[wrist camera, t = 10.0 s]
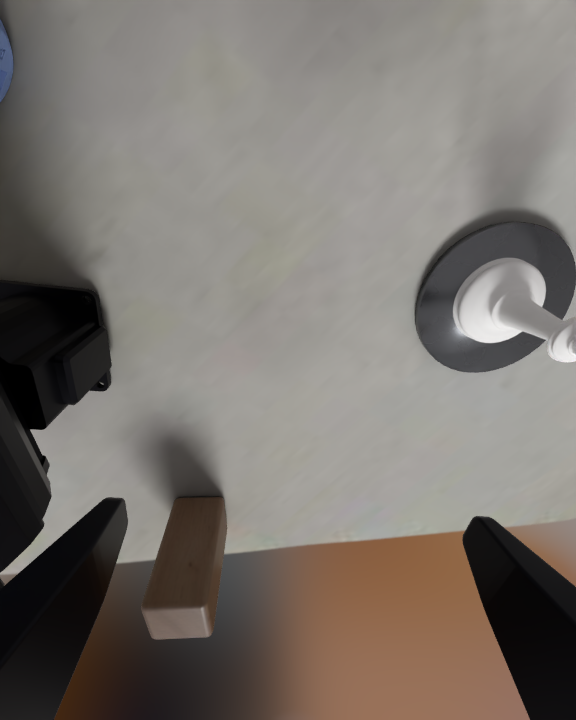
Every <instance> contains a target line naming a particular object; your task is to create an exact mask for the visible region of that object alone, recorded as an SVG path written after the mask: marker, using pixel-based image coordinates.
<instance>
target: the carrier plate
mask: <svg viewBox="0 0 576 720" xmlns="http://www.w3.org/2000/svg"><path fill="white" fill-rule="evenodd" d="M501 258H517V259H521V260H523V261H525V262H527V263H529V264H531V265H533V266H534V267H536V268H537V269H538V270H539V271H540V273H541V274H542V276H543V278H544V281H545V285H546V295H545V300H544V303H543V306H542V308H544V309H545V310H547V311H548V312H550V313H551V314H553V315H555V316H556V317H558V318H560V319H561V320H562V319H563V318H564V316H565V314H566V312H567V310H568V308H569V306H570V303H571V301H572V298H573V295H574V290H575V285H576V266H575V262H574V258H573V255H572V253H571V250H570V248H569V247H568V245H567V244H566V243H565V241H564V240H563V239H562V238H561V237H560V236H559V235H558V234H556V233H555V232H553V231H552V230H550V229H548V228H545V227H543V226H540V225H535V224H531V223H522V222H506V223H499V224H494V225H490V226H487V227H484V228H482V229H479V230H477V231H475V232H473V233H471V234H469V235H467V236H466V237H464V238H463V239H461V240H459V241H458V242H457V243H456V244H454V245H453V246H452V247H450V248H449V249H448V250H447V251H446V252H445V253H444V254H443V255H442V256H441V257H440V258H439V260H438V261H437V262H436V263H435V264H434V266H433V267H432V269H431V270H430V272H429V273H428V275H427V276H426V278H425V280H424V282H423V284H422V287H421V289H420V292H419V295H418V299H417V303H416V310H415V323H416V329H417V333H418V336H419V339H420V341H421V342H422V344H423V346H424V347H425V349H426V350H427V351H428V352H429V353H430V354H431V355H432V356H433V357H434V358H435V359H436V360H437V361H438V362H440V363H441V364H443V365H444V366H447V367H449V368H451V369H454V370H457V371H462V372H475V373H476V372H486V371H492V370H496V369H499V368H503V367H505V366H508V365H510V364H513V363H515V362H516V361H518V360H520V359H522V358H524V357H525V356H527V355H528V354H530V353H531V352H533V351H534V350H535V349H536V348H538V347H539V346H540V345H541V344H542V343H543V342H544V341H546V340H545V339H542V338H540V337H537V336H534V335H532V334H529V333H526V332H523V331H522V332H521V333H519V334H518V335H516V336H514V337H512V338H510V339H508V340H505V341H501V342H496V343H483V342H479V341H476V340H474V339H471V338H469V337H467V336H465V335H464V334H463V333H462V332H460V330H459V329H458V328H457V326H456V324H455V322H454V318H453V304H454V300H455V297H456V294H457V292H458V290H459V288H460V287H461V285H462V284H463V282H464V281H465V280H466V279H467V278H468V277H469V276H470V275H471V274H472V273H473V272H474V271H475V270H476V269H478V268H479V267H481V266H482V265H484V264H486V263H488V262H490V261H493V260H496V259H501Z"/></svg>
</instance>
